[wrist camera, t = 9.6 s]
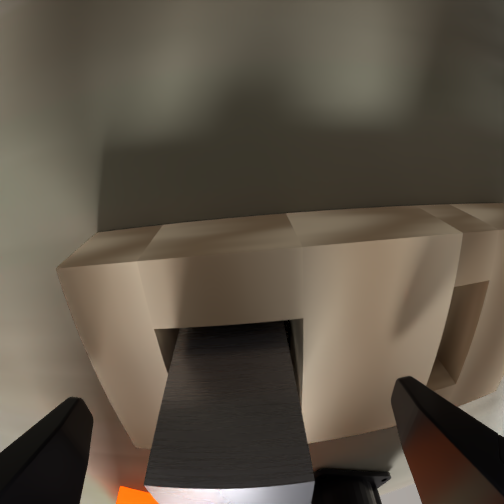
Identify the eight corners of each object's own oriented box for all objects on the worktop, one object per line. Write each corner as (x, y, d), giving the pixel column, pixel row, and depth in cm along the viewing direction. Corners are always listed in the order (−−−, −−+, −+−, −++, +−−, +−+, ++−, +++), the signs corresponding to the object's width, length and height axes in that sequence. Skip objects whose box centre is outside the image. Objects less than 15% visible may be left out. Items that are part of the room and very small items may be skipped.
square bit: (275, 283, 11) (315, 481, 4) (278, 349, 12) (306, 528, 5) (190, 290, 11) (144, 485, 4) (203, 355, 12) (183, 532, 5)
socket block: (502, 202, 10) (550, 225, 8) (467, 354, 13) (495, 391, 11) (96, 232, 10) (55, 268, 8) (148, 397, 13) (135, 447, 11)
